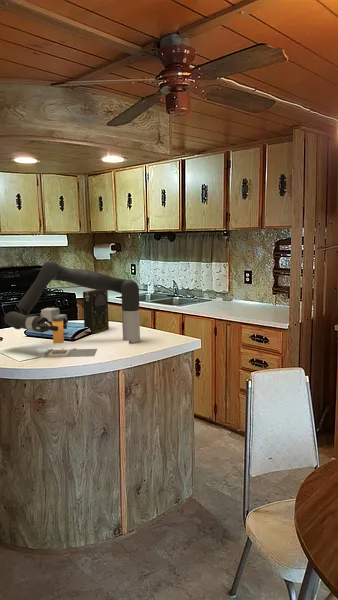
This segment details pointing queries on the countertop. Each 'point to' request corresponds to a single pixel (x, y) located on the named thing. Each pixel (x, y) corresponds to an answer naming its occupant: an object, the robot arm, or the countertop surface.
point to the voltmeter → (96, 310)
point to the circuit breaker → (53, 314)
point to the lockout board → (70, 353)
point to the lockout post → (58, 335)
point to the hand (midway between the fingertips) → (61, 327)
